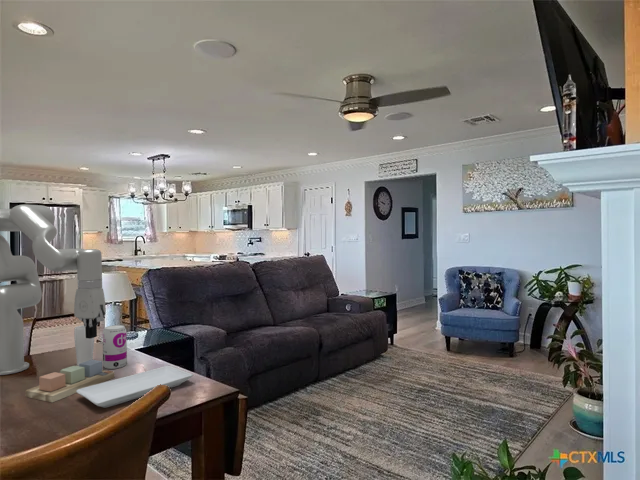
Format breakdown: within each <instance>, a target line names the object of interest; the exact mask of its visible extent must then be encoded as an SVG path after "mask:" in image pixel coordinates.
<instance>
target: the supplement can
mask: <svg viewBox="0 0 640 480" xmlns="http://www.w3.org/2000/svg"><path fill="white" fill-rule="evenodd" d="M127 333H128V332H127V328H126V327H125V325H123V324H115V325H107V326H105V327H104V329H103V330H102V368H103V367H104V369H108V370H115V369H120V368H124V367H125V366H126V365H127V364H128V360H127V359H128V355H127V353H128V349H127V347H128V343H127V340H128V339H127Z"/></svg>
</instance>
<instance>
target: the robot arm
mask: <svg viewBox="0 0 640 480" xmlns="http://www.w3.org/2000/svg"><path fill="white" fill-rule="evenodd" d="M55 220H56V219H55V213H54V211H53V210H52V209H51V208H50V207H48V206H45V205H40V204H39V205H38V204H27V203H26V204H19V205H15V206H14V207H12V208H0V232H22V233H23V234H25V236H26V237H27V238H29V240H31V241H32V246H31V248H32V251H33V256H34V257H35V258H36V260H37V261H38V262H39V263H41V264H42V266H44V267H45V268H46V269H48V270H50V271H52V272H55V273H56V272H65V271H75V270H76V271H77V272H76V273H77V274H76V275H77V276H76V278H77V288H76V290H75V295H74V301H73V302H74V306H73V312H74V314H73V315H74V317H75V318H77V320H79V321H81V322H82V323H83V325H84V326H85V331H86V338H89V339H90V338H94V339H95V338H97V337H98V325H99V323H100V322H103V321H104V320H105V318H104V317H105V316H106V298H105V292H104V288H103V268H102V267H103V266H102V265H103V260H102V258H103V257H102V256H103V255H102V251H101V250H100V249H99V248H98V249H97V248H96V249H94V248H92V249H90V248H89V249H88V248H86V249H85V248H59V249H57V248H56V247H54V245H53V244H51V242H52V241H53V240H54V239H55V238H56V236H57V233H58V229H57V228H56V226H55V225H54V222H55ZM12 281H13V282H15V281H16V283H12V284H4V285H0V376H4V375H5V376H6V375H10V374H16V373H19V372H23V371H24V370H25V371H26V370H27V369H29V367H30V363H29V362H27V361H25V351H24V349H25V345H24V341H25V340H24V338H25V337H24V333H25V332H24V331H25V330H24V319H23V317H22V315H21V314H20V312H19V311H18V310H20V309H24V308H30V307H34V306H36V305H38V304H39V303H40V302H41V300H42V296H43V291H42V287H41V282H40V277H39V274H38V270H37V266H36V264H35V262H34V260H33V259H32V258H31V257H29V256H26V255H13V253H12V251H11V247H10V243H9V242H8V241H7V239H6V238H5V236H3V235H2V234H1V233H0V283H5V282H12Z"/></svg>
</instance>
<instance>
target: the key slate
mask: <svg viewBox="0 0 640 480" xmlns="http://www.w3.org/2000/svg"><path fill="white" fill-rule="evenodd" d="M79 366H80V367H85V376H86V377H88V378H91V377H93V376H94V375H97V374H100V373H102V370H103V360H96V359H93V360H89V361H86V362H83V363H80V364H79Z"/></svg>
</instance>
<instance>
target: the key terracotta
mask: <svg viewBox="0 0 640 480" xmlns="http://www.w3.org/2000/svg"><path fill="white" fill-rule="evenodd" d="M38 380H39V381H38V383H39V384H38V386H39V390H43V391H48V392H49V393H51V392H54V391H56V390H57V389H60V388H62V387H65V374H63V373H60V372H56V371H53V372H51V373H47V374H44V375H41V376H39V377H38Z"/></svg>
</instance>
